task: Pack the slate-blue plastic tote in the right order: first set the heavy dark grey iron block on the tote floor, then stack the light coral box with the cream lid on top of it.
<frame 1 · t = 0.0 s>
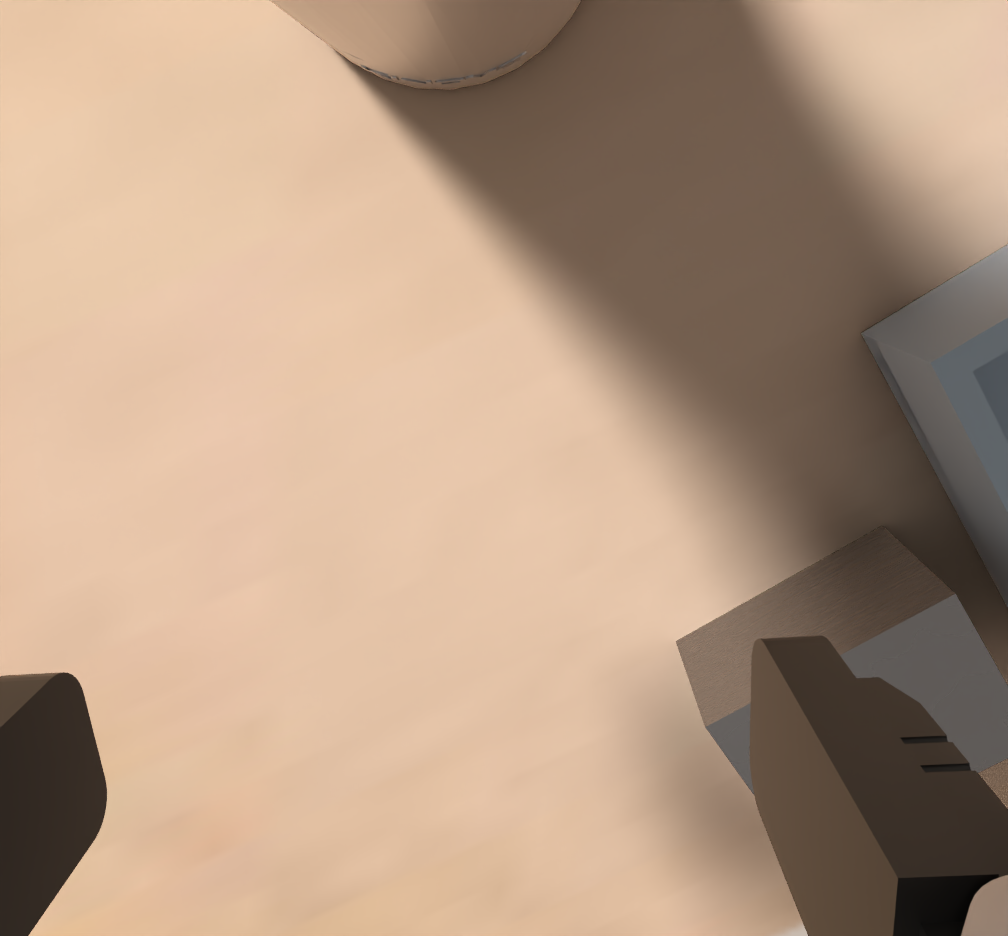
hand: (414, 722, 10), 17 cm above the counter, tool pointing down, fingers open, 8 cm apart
iron block: (814, 645, 29), on the counter
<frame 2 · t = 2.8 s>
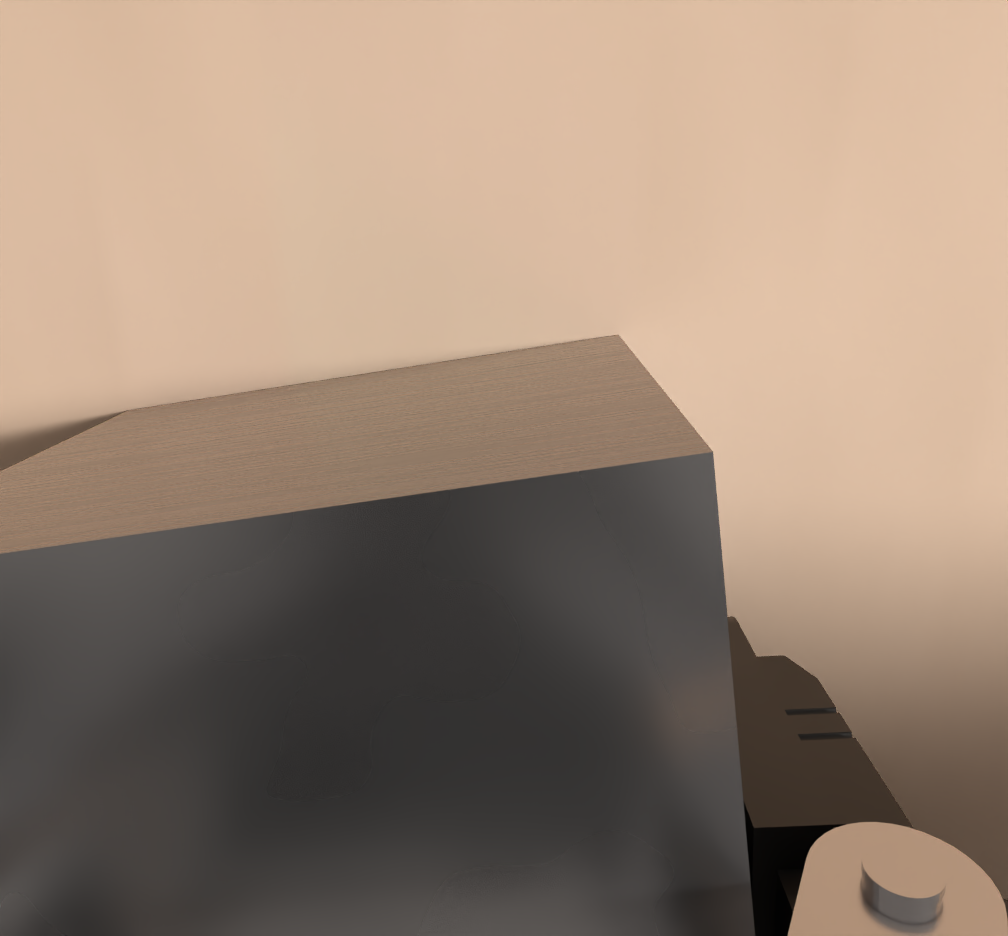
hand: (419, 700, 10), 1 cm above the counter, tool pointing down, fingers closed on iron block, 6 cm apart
iron block: (429, 666, 11), on the counter, touching gripper
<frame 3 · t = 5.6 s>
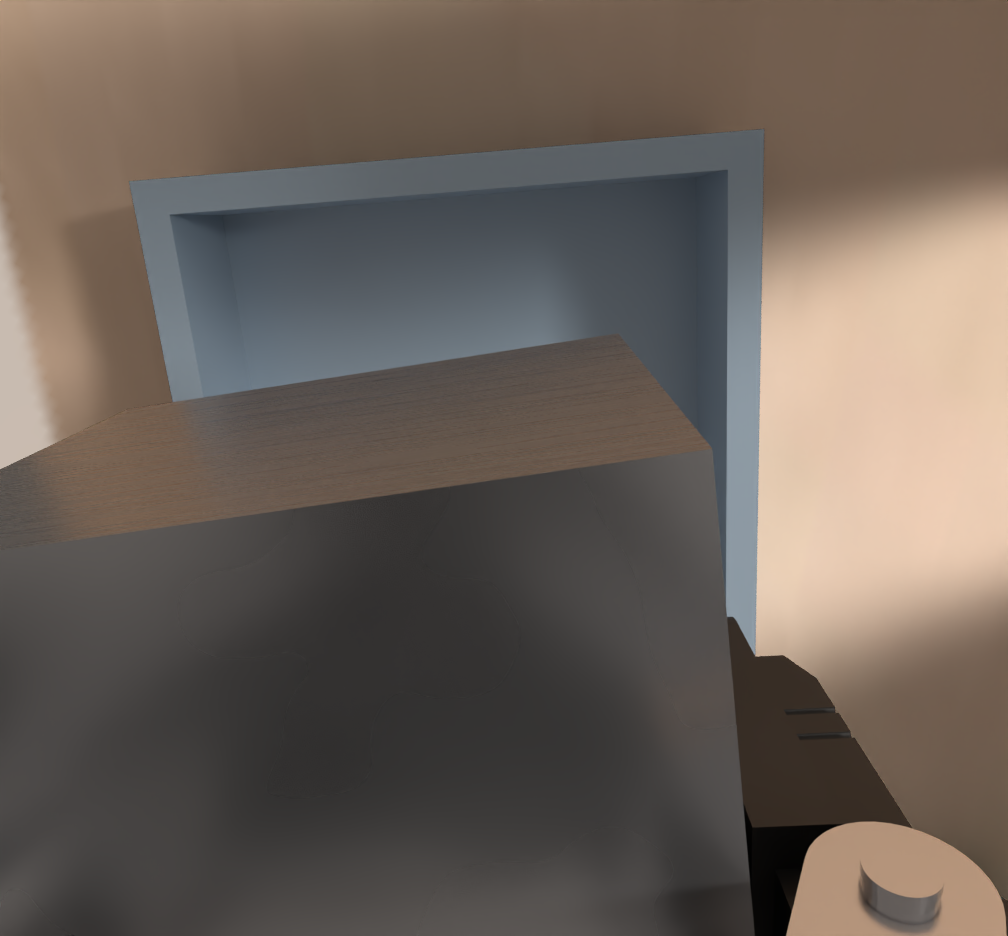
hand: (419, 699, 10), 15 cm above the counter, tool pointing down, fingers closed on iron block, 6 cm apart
tote: (478, 419, 25), on the counter
iron block: (428, 665, 11), point 15 cm above the counter, touching gripper
when the fingers open (3 cm above the counter, at t = 8.4 s): iron block drops 1 cm, resting on tote.
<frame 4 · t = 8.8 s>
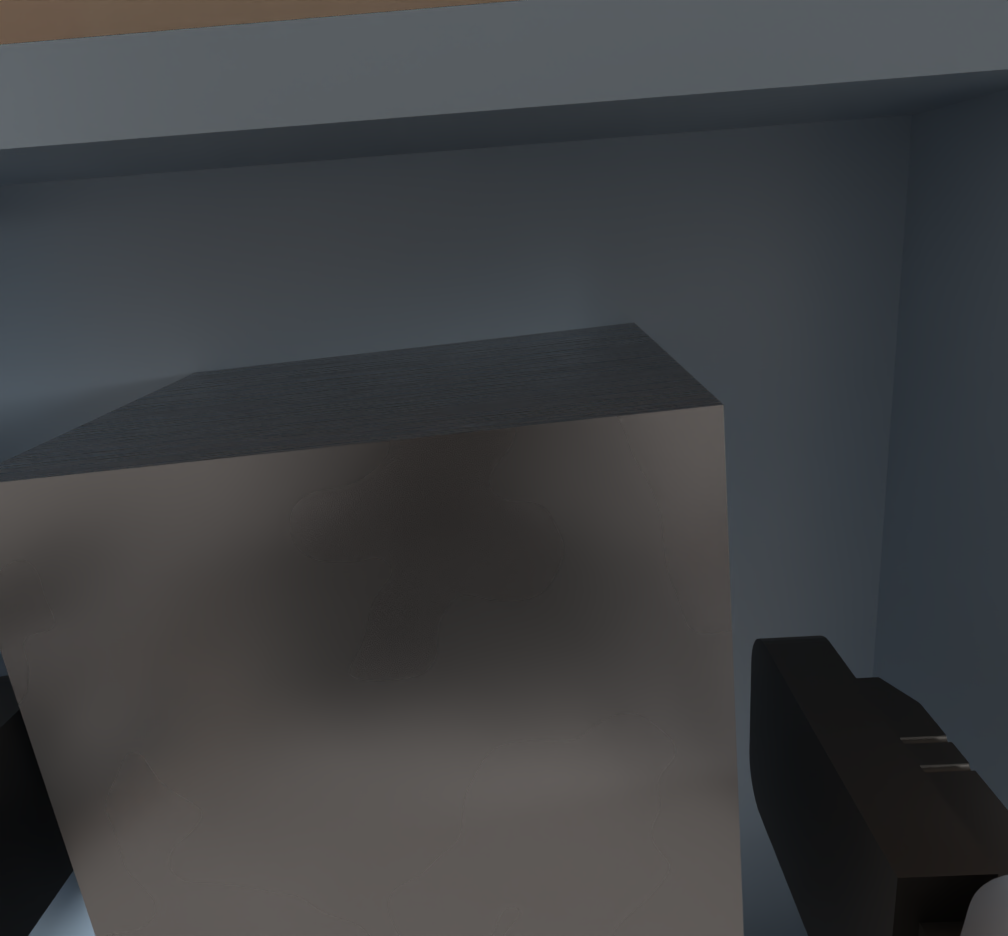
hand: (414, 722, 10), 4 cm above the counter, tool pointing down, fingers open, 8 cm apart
tote: (442, 589, 13), on the counter
iron block: (451, 614, 12), point 1 cm above the counter, touching tote
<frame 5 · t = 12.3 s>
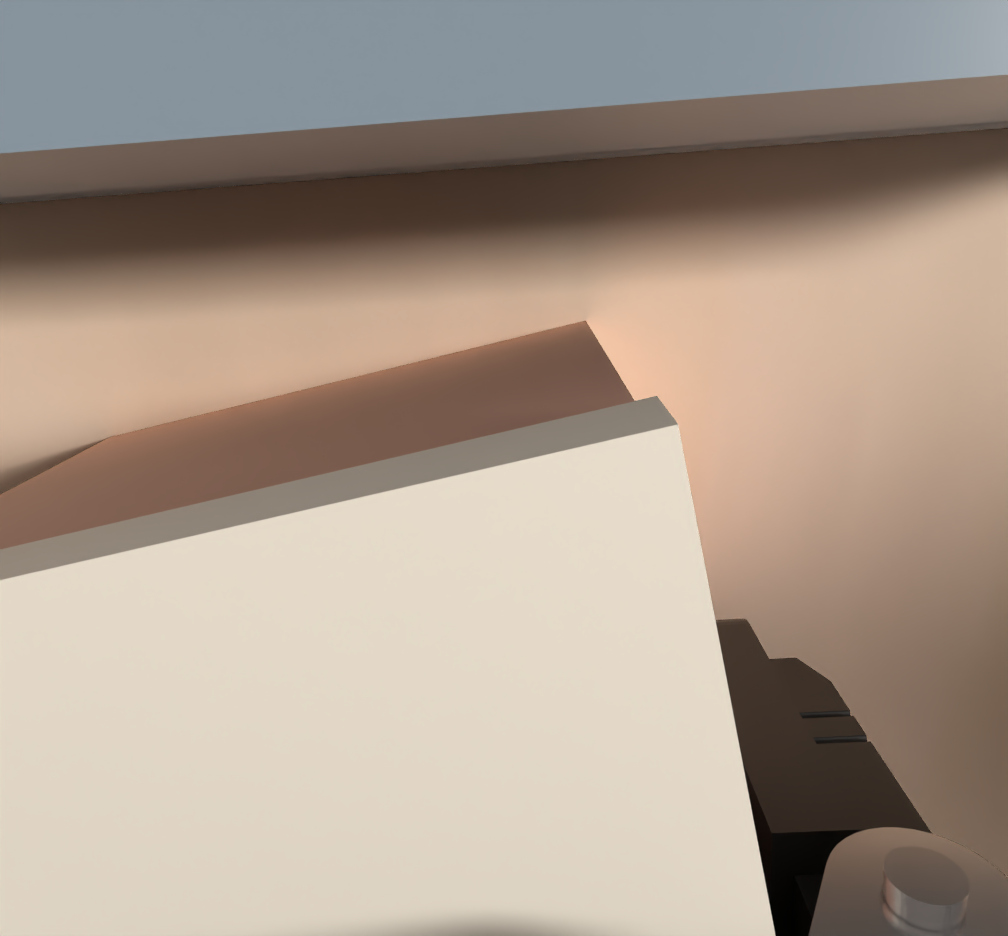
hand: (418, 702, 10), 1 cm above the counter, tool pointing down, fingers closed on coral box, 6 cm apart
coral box: (429, 666, 11), on the counter, touching gripper
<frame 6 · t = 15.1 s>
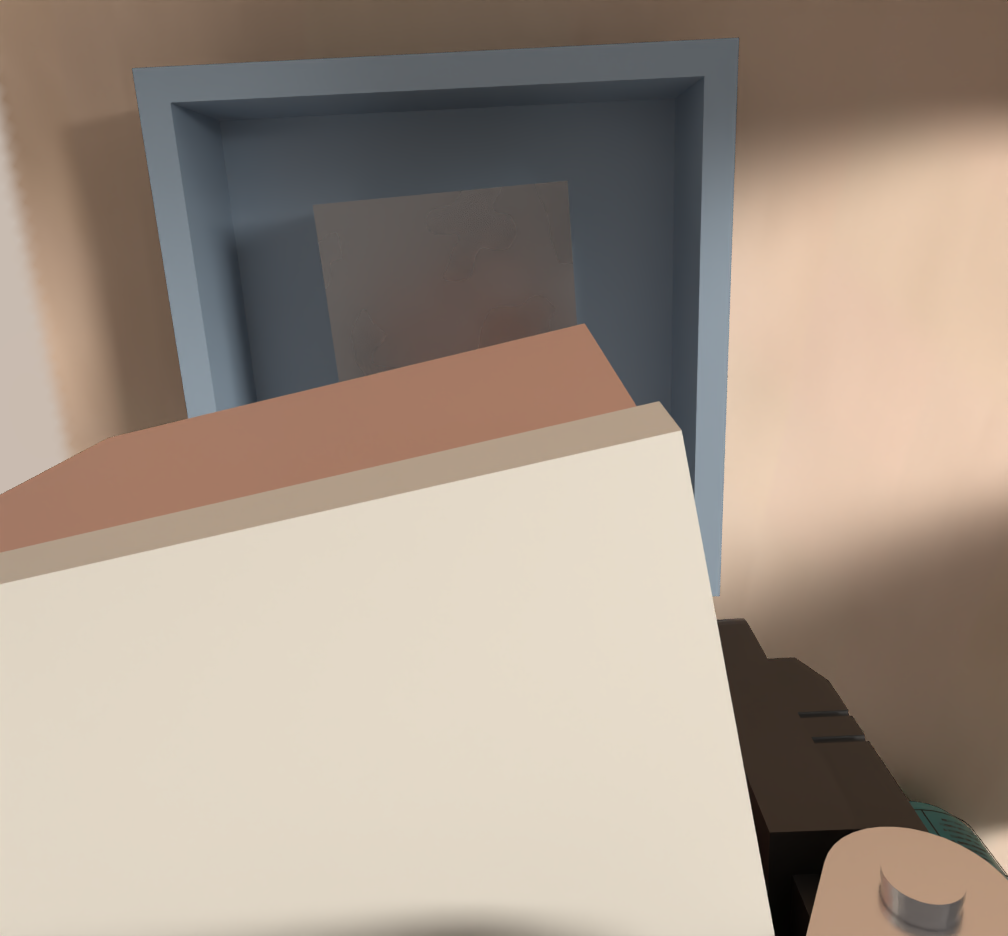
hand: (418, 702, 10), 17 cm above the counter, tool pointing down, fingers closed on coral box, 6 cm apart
beverage bottle: (874, 836, 32), on the counter
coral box: (427, 668, 11), point 16 cm above the counter, touching gripper
tote: (461, 334, 26), on the counter
iron block: (467, 336, 25), point 1 cm above the counter, touching tote
when the fingers open (8 cm above the counter, at t = 17.7 s): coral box drops 1 cm, resting on iron block.
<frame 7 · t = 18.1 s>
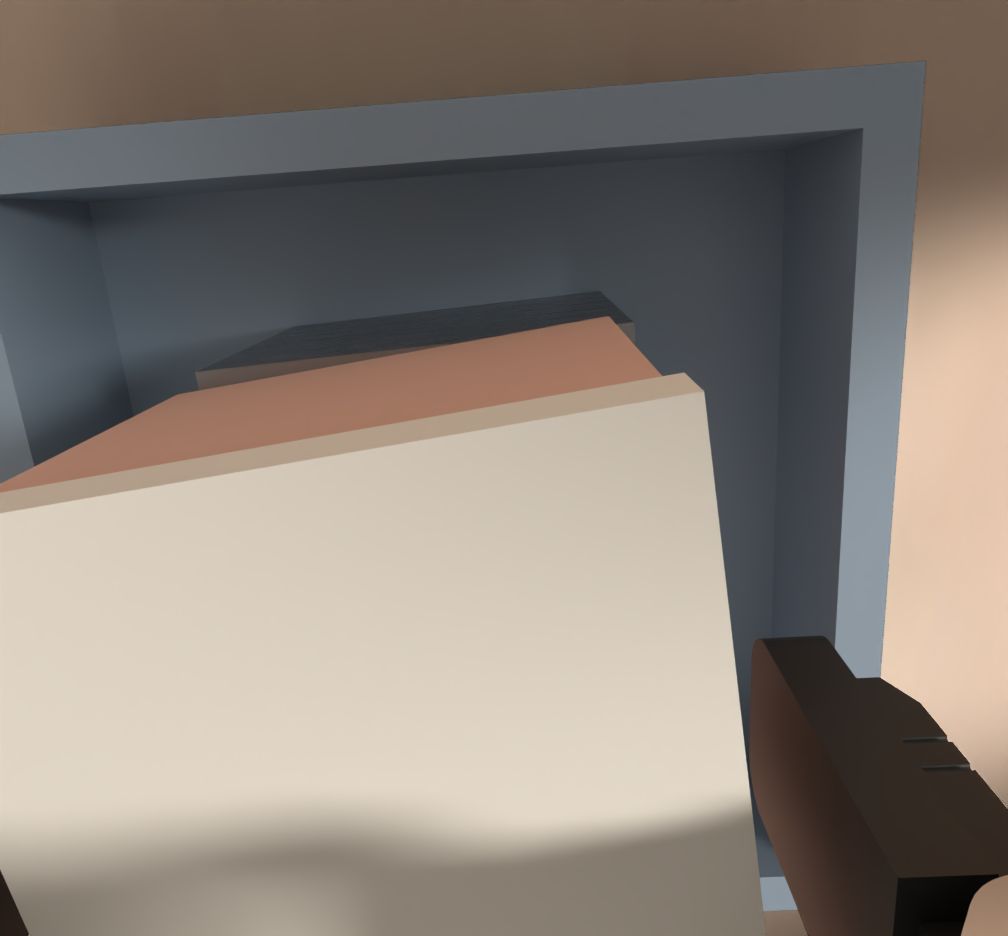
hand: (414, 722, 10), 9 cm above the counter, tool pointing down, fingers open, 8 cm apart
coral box: (448, 618, 12), point 6 cm above the counter, touching iron block
tote: (464, 490, 18), on the counter
iron block: (471, 502, 17), point 1 cm above the counter, touching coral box, tote
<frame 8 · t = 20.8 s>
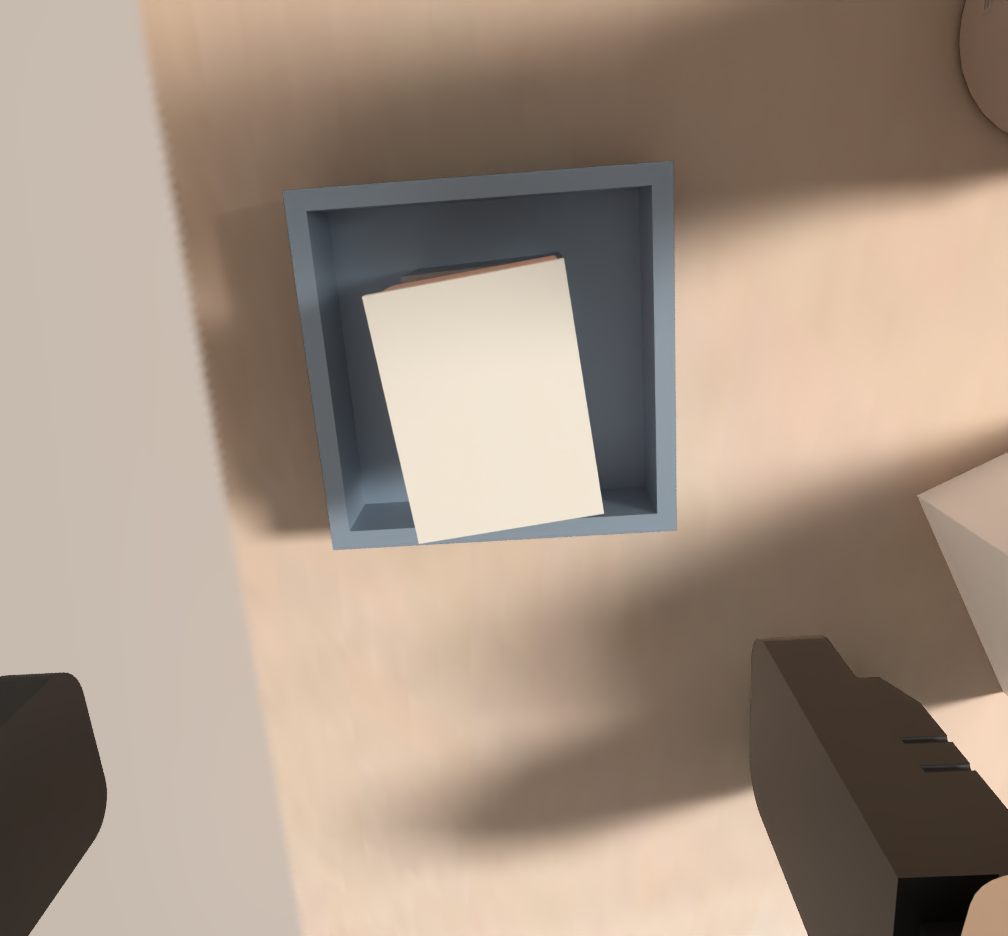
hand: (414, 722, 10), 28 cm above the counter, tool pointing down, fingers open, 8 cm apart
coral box: (493, 376, 31), point 6 cm above the counter, touching iron block
tote: (494, 352, 36), on the counter
iron block: (498, 354, 35), point 1 cm above the counter, touching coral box, tote
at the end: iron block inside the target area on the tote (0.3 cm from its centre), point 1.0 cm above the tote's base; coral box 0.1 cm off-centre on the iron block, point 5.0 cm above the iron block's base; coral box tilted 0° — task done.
